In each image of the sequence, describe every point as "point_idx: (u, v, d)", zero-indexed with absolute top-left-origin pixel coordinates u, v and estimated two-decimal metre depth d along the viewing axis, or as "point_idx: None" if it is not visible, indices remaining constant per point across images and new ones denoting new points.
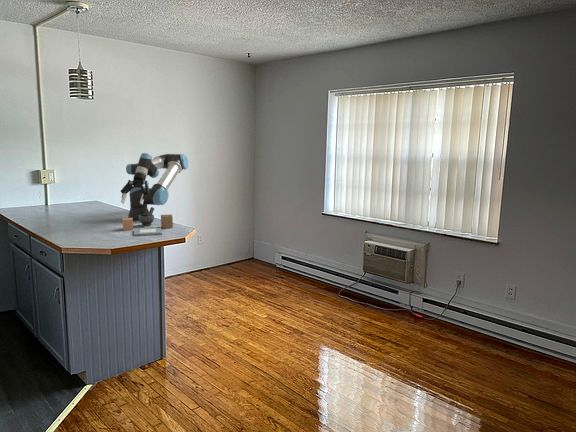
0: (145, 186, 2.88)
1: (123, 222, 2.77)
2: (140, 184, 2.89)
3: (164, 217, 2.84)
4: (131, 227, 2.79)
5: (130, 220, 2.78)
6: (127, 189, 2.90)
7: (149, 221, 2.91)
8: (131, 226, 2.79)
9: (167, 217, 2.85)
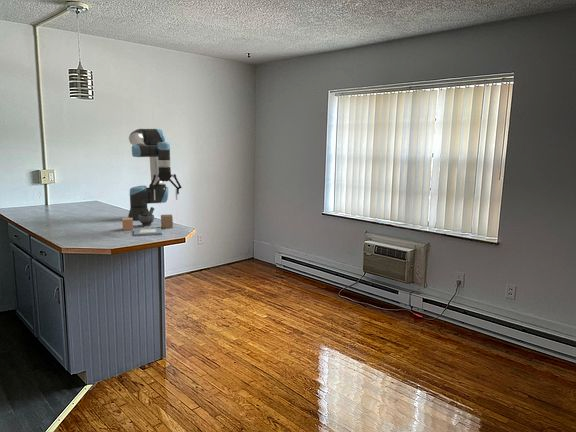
0: (176, 181, 2.85)
1: (123, 222, 2.77)
2: (170, 179, 2.83)
3: (164, 217, 2.84)
4: (131, 227, 2.79)
5: (130, 220, 2.78)
6: (156, 185, 2.81)
7: (149, 221, 2.91)
8: (131, 226, 2.79)
9: (167, 217, 2.85)
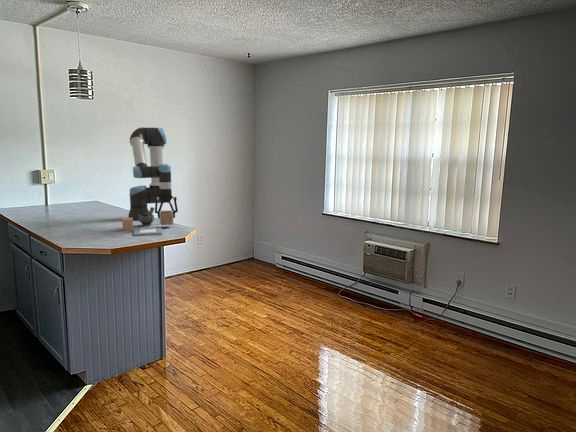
0: (175, 204, 2.87)
1: (123, 222, 2.77)
2: (170, 202, 2.86)
3: (164, 213, 2.84)
4: (131, 227, 2.79)
5: (130, 220, 2.78)
6: None
7: (149, 221, 2.91)
8: (131, 226, 2.79)
9: (167, 213, 2.85)
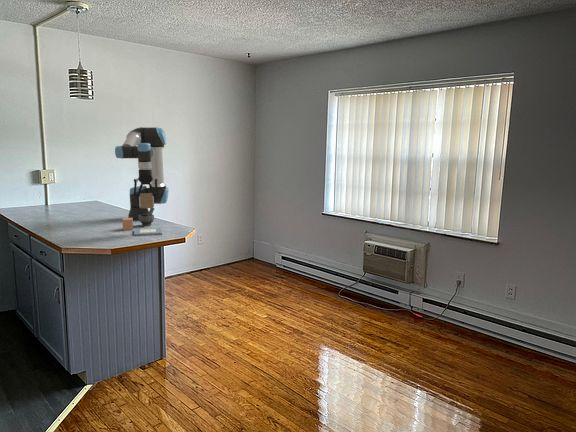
0: (155, 186, 2.68)
1: (123, 222, 2.77)
2: (150, 183, 2.66)
3: (143, 196, 2.65)
4: (131, 227, 2.79)
5: (130, 220, 2.78)
6: (140, 191, 2.66)
7: (149, 221, 2.91)
8: (131, 226, 2.79)
9: (147, 196, 2.65)
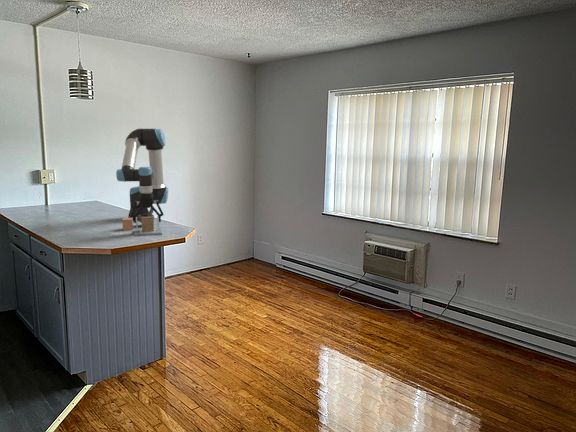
0: (158, 208, 2.71)
1: (123, 222, 2.77)
2: (152, 206, 2.69)
3: (144, 220, 2.67)
4: (131, 227, 2.79)
5: (130, 220, 2.78)
6: (138, 213, 2.67)
7: None
8: (131, 226, 2.79)
9: (148, 220, 2.68)
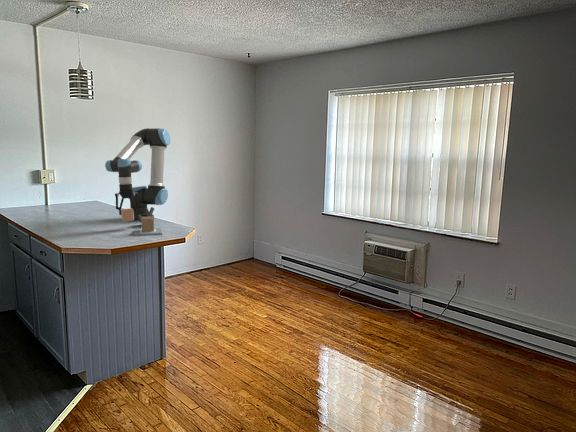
0: (135, 200, 2.79)
1: (123, 213, 2.77)
2: (130, 197, 2.78)
3: (144, 220, 2.67)
4: (131, 218, 2.79)
5: (130, 211, 2.78)
6: None
7: None
8: (131, 217, 2.79)
9: (148, 220, 2.68)
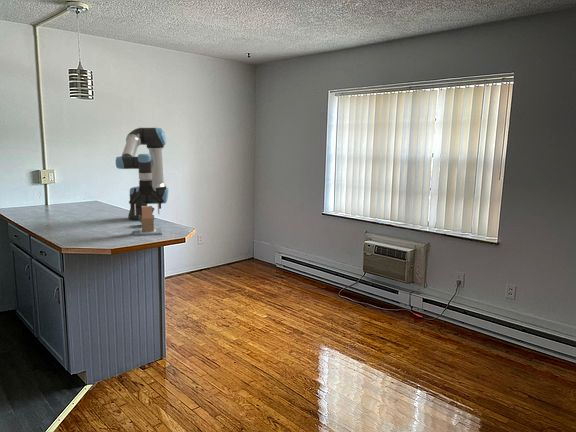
0: (158, 194, 2.69)
1: (142, 210, 2.66)
2: (152, 193, 2.67)
3: (144, 220, 2.67)
4: (151, 215, 2.68)
5: (150, 208, 2.67)
6: (137, 200, 2.66)
7: None
8: (151, 214, 2.68)
9: (148, 220, 2.68)
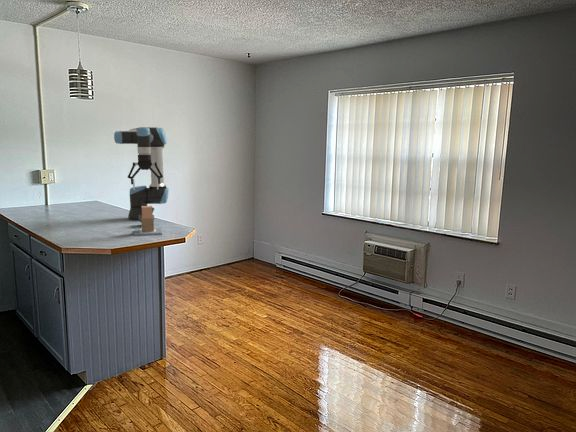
0: (157, 169, 2.67)
1: (142, 210, 2.66)
2: (150, 168, 2.65)
3: (144, 220, 2.67)
4: (151, 215, 2.68)
5: (150, 208, 2.67)
6: (135, 174, 2.63)
7: None
8: (151, 214, 2.68)
9: (148, 220, 2.68)
